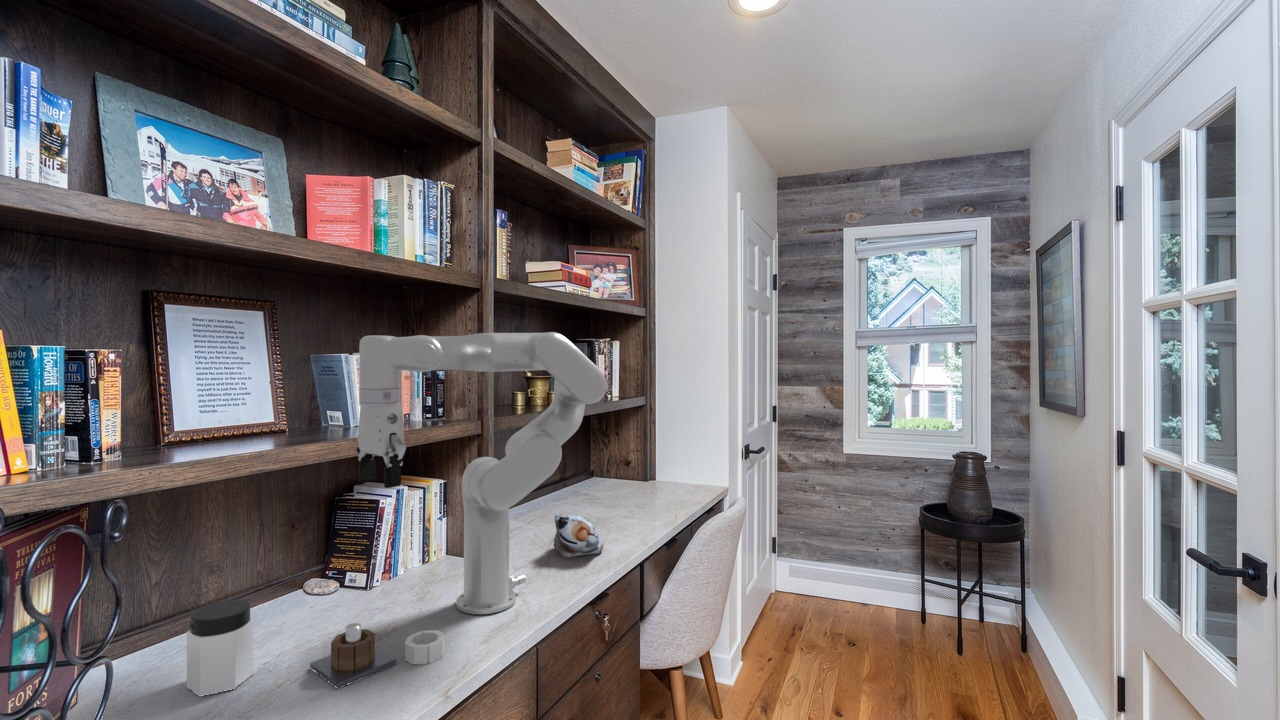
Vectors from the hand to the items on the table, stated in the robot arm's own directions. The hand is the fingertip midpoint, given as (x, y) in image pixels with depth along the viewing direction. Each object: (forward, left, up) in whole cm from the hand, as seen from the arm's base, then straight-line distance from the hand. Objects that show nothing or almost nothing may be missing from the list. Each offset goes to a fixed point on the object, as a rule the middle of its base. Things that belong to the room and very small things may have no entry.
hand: (379, 483), depth 119 cm
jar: (+27, 0, -28) cm, 39 cm away
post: (+11, +12, -28) cm, 33 cm away
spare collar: (+1, +18, -28) cm, 34 cm away
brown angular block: (+11, +12, -27) cm, 32 cm away
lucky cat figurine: (-56, +1, -29) cm, 63 cm away
